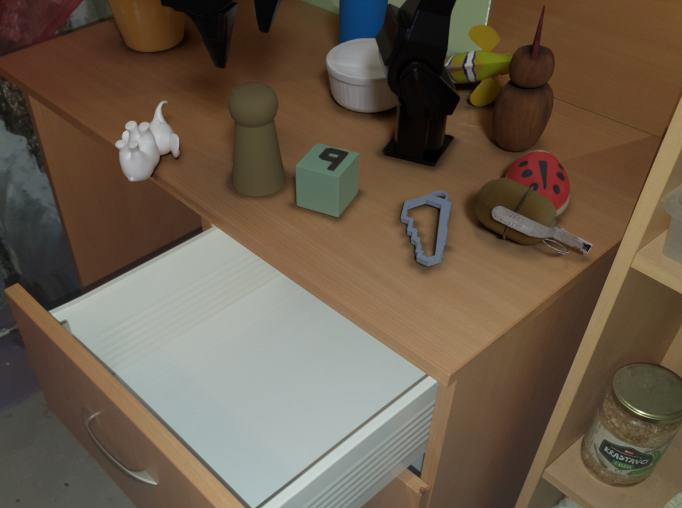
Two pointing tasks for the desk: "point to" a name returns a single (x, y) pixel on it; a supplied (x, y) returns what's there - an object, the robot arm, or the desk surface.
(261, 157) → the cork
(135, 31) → the flower pot
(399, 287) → the desk surface
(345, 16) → the beverage can
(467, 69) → the fish toy
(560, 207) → the ladybug figurine
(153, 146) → the elephant figurine
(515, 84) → the wooden figurine
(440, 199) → the key tool
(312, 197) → the letter block
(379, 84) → the ramekin
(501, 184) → the grenade
